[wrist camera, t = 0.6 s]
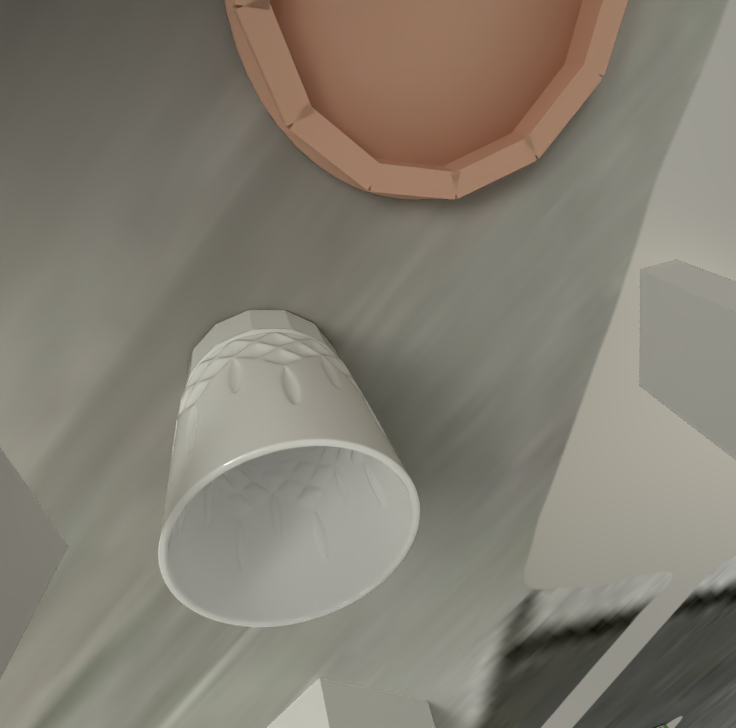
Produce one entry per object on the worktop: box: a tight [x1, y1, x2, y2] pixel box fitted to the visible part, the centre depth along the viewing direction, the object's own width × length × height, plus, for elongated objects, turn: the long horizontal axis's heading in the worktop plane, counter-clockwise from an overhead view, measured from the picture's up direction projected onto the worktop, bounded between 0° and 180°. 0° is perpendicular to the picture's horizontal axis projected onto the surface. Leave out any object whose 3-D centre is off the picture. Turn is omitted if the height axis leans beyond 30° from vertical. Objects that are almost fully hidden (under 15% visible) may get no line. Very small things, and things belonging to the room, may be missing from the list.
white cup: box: [158, 310, 420, 627], centre depth 20 cm, size 8×8×10 cm
